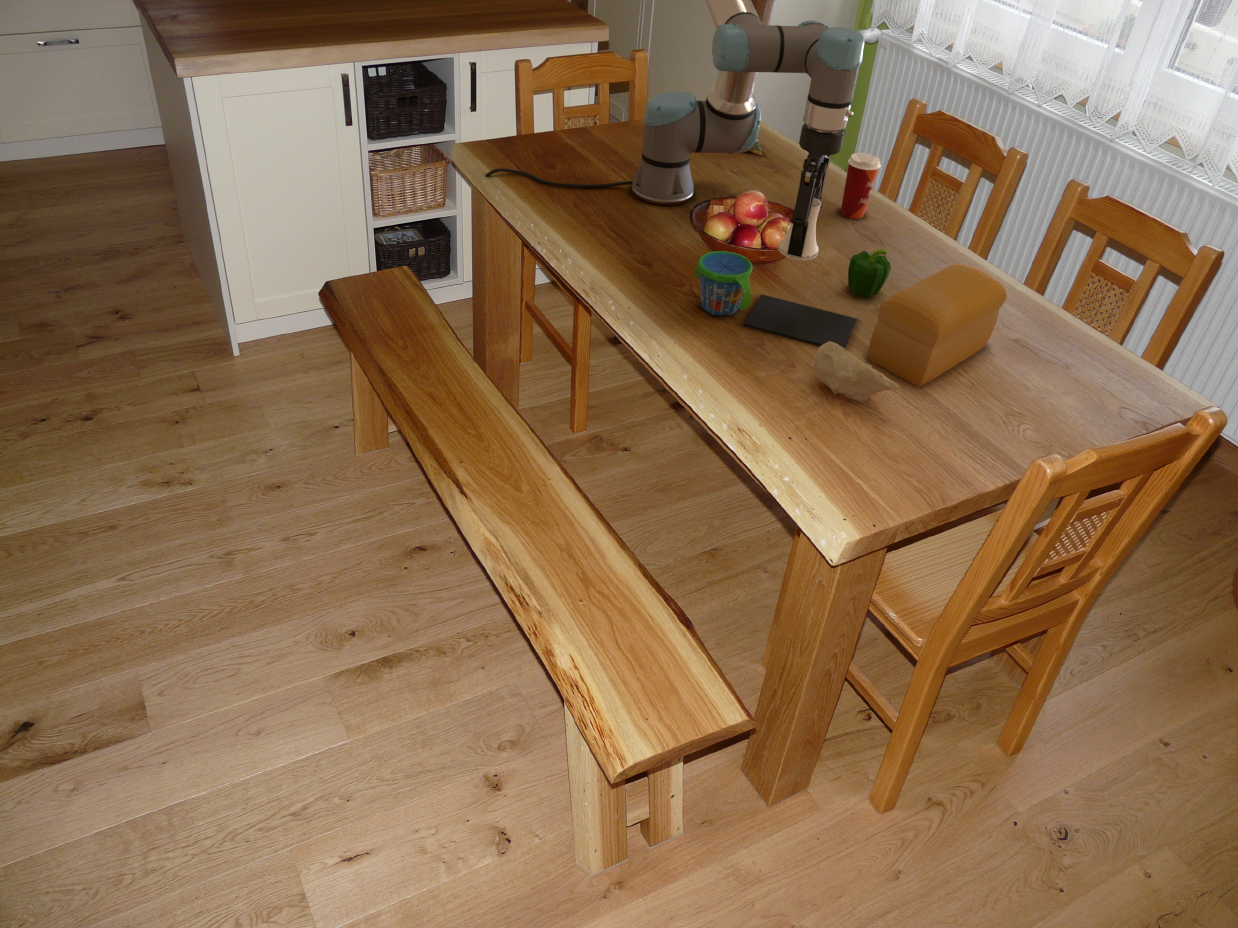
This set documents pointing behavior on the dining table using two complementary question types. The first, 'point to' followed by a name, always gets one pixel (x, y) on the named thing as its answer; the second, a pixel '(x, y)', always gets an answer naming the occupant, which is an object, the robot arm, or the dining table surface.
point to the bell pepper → (868, 273)
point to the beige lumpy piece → (849, 373)
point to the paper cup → (859, 184)
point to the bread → (936, 323)
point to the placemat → (800, 322)
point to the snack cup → (724, 282)
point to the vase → (810, 241)
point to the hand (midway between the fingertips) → (799, 247)
